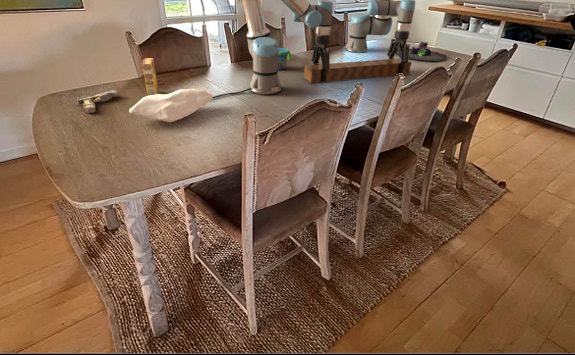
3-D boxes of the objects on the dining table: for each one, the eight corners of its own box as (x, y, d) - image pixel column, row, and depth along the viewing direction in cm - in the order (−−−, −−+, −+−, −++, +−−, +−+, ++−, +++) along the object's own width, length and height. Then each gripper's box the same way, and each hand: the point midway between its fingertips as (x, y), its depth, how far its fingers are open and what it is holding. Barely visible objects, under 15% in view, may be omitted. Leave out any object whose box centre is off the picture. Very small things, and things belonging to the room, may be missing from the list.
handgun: (128, 97, 156) (111, 87, 164) (86, 107, 144) (70, 97, 152) (129, 103, 157) (113, 94, 165) (88, 114, 146) (72, 103, 154)
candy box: (157, 97, 164) (152, 63, 155) (147, 98, 163) (141, 63, 155) (158, 91, 171) (153, 57, 163) (149, 91, 170) (143, 58, 162)
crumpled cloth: (117, 110, 146) (113, 90, 140) (195, 92, 166) (194, 73, 160) (143, 139, 134) (140, 118, 128) (223, 116, 154) (224, 96, 148)
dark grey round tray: (457, 57, 245) (460, 43, 240) (424, 63, 227) (427, 48, 223) (415, 49, 269) (417, 36, 265) (382, 54, 252) (384, 40, 247)
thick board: (310, 83, 189) (311, 70, 186) (304, 78, 196) (304, 65, 193) (408, 74, 210) (411, 62, 206) (399, 69, 217) (401, 58, 213)
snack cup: (285, 64, 217) (285, 46, 212) (295, 68, 210) (296, 50, 204) (262, 67, 210) (262, 49, 204) (272, 72, 202) (272, 53, 197)
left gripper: (339, 38, 175) (334, 84, 188) (320, 29, 192) (316, 72, 204) (325, 39, 173) (321, 85, 185) (307, 30, 190) (304, 73, 202)
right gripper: (421, 34, 191) (411, 76, 203) (396, 26, 208) (389, 66, 220) (409, 35, 189) (400, 78, 201) (385, 27, 206) (378, 67, 218)
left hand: (319, 78), depth 195 cm, fingers closed on thick board, 9 cm apart
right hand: (394, 71), depth 211 cm, fingers open, 9 cm apart
